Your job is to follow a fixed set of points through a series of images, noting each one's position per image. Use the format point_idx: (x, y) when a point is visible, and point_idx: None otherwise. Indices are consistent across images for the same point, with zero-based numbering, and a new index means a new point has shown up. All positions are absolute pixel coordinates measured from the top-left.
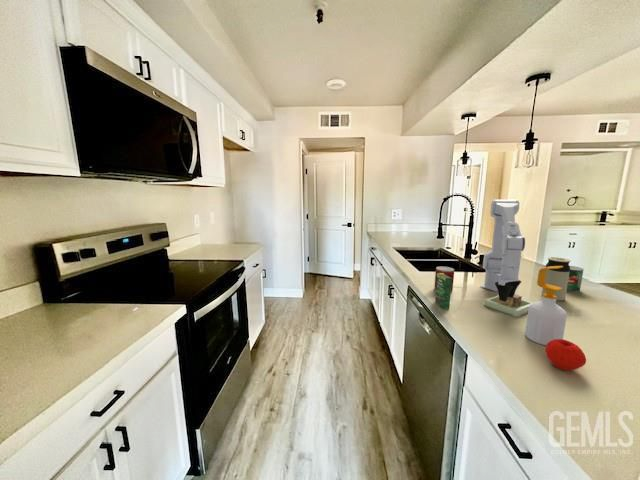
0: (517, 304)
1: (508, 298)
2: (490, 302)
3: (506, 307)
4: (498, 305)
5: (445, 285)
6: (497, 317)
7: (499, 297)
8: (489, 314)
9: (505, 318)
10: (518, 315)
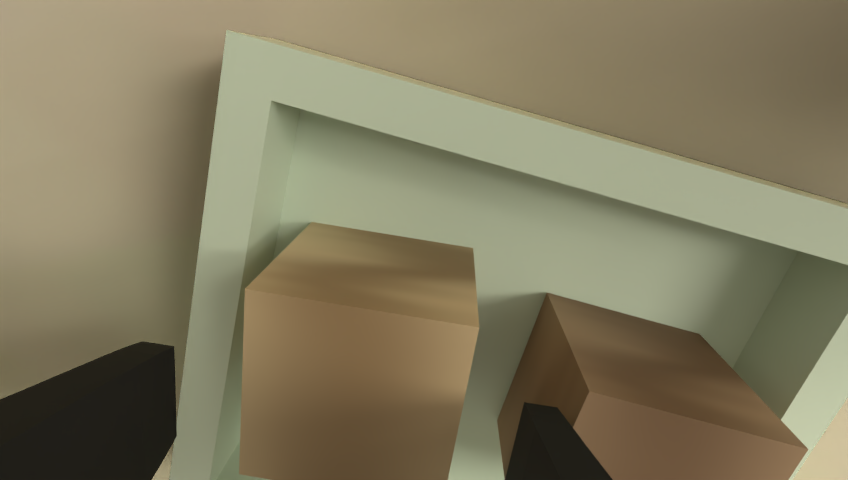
0: None
1: (374, 452)
2: (218, 150)
3: (181, 394)
4: (205, 281)
5: None
6: (8, 289)
7: (84, 370)
8: (5, 193)
9: (66, 361)
10: None
